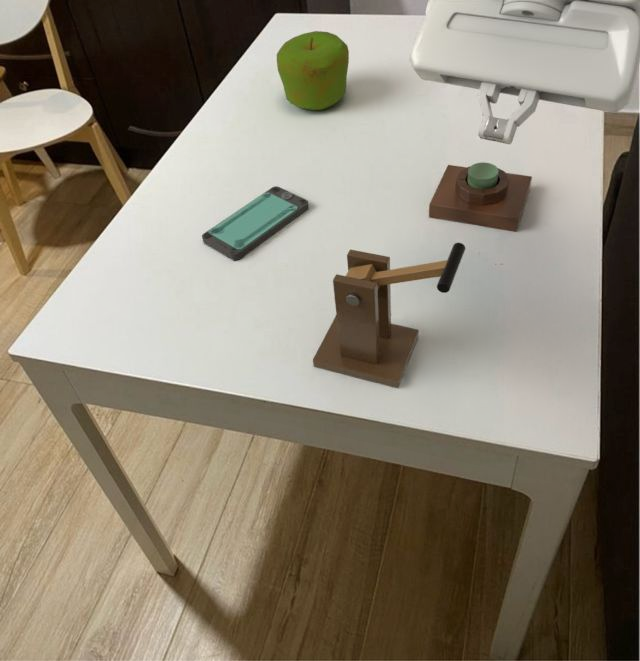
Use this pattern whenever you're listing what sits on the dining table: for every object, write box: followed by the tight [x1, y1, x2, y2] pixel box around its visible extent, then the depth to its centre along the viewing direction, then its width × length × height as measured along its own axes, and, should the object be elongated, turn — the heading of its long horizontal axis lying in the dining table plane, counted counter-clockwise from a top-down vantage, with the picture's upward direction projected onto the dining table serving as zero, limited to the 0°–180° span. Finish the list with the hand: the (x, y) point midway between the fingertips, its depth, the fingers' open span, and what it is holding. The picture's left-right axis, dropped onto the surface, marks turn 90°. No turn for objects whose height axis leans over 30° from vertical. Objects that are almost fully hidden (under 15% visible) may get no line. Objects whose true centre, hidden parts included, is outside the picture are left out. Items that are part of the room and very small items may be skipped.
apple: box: [276, 30, 350, 112], centre depth 113 cm, size 12×12×11 cm
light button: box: [467, 161, 499, 189], centre depth 89 cm, size 4×4×2 cm
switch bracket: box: [312, 249, 420, 389], centre depth 71 cm, size 10×8×13 cm
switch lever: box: [345, 242, 466, 294], centre depth 65 cm, size 12×6×2 cm, turn 68°
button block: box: [428, 164, 533, 232], centre depth 91 cm, size 12×10×4 cm
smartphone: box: [201, 185, 310, 261], centre depth 93 cm, size 7×1×15 cm
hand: (494, 140), depth 61 cm, fingers closed
